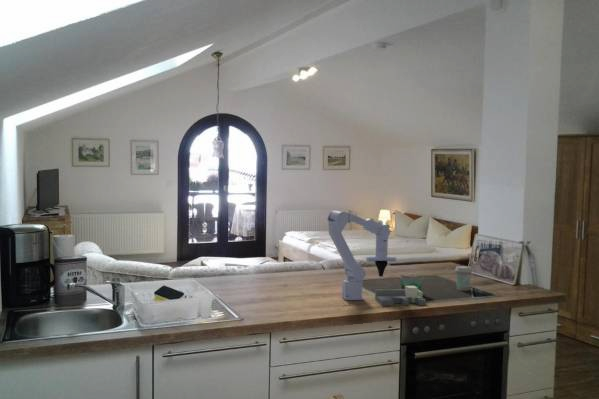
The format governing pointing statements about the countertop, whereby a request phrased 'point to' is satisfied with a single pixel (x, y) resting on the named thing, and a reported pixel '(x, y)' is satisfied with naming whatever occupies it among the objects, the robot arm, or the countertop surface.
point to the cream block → (411, 291)
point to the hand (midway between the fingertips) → (380, 276)
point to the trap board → (397, 297)
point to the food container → (412, 281)
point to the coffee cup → (463, 277)
